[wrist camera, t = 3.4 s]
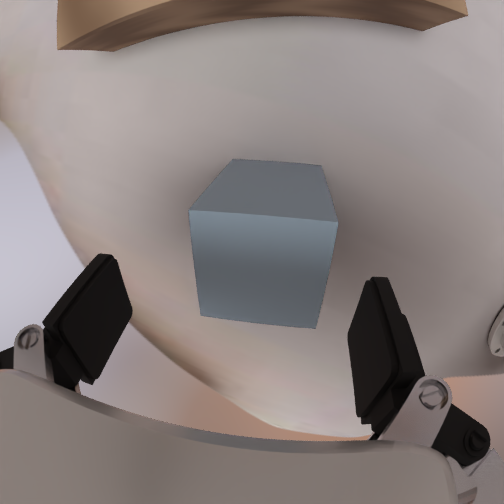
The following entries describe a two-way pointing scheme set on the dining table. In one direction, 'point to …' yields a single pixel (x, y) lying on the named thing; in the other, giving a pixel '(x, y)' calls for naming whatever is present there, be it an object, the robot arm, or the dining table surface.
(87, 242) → the dining table surface
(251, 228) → the blue block
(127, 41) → the riser block
